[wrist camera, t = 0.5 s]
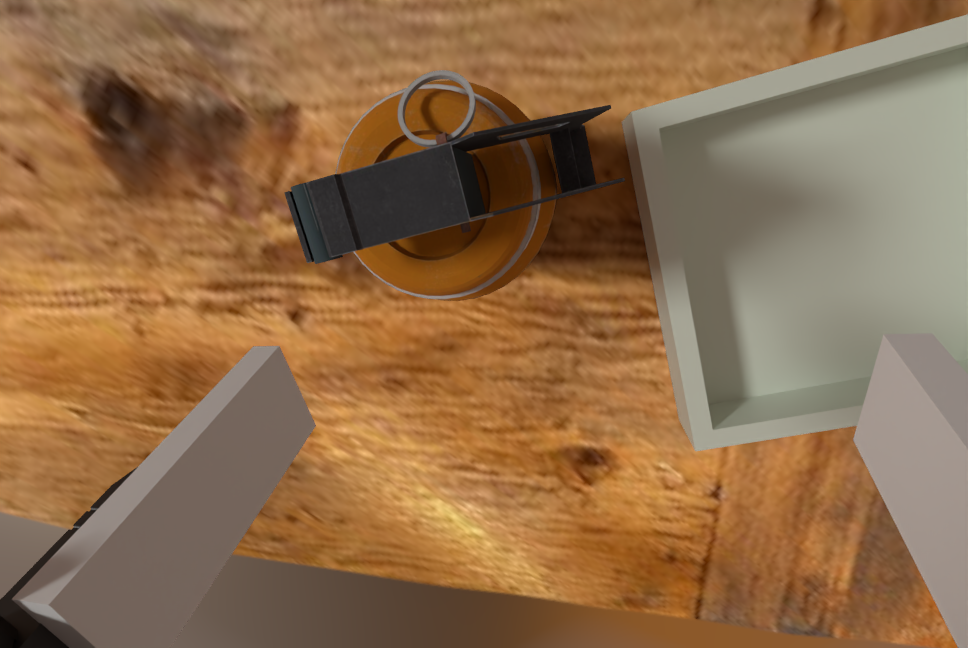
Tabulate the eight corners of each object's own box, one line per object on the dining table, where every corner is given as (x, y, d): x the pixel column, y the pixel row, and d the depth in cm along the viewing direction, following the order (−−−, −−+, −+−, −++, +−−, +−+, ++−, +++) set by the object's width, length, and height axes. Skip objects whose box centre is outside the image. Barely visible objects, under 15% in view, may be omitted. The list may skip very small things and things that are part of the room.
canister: (404, 142, 34) (201, 81, 15) (573, 92, 32) (592, -55, 13) (441, 275, 36) (303, 374, 17) (602, 237, 34) (658, 300, 14)
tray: (621, 122, 32) (631, 111, 27) (999, 14, 28) (1079, -18, 24) (679, 419, 36) (695, 451, 32) (1014, 362, 32) (1085, 389, 28)
